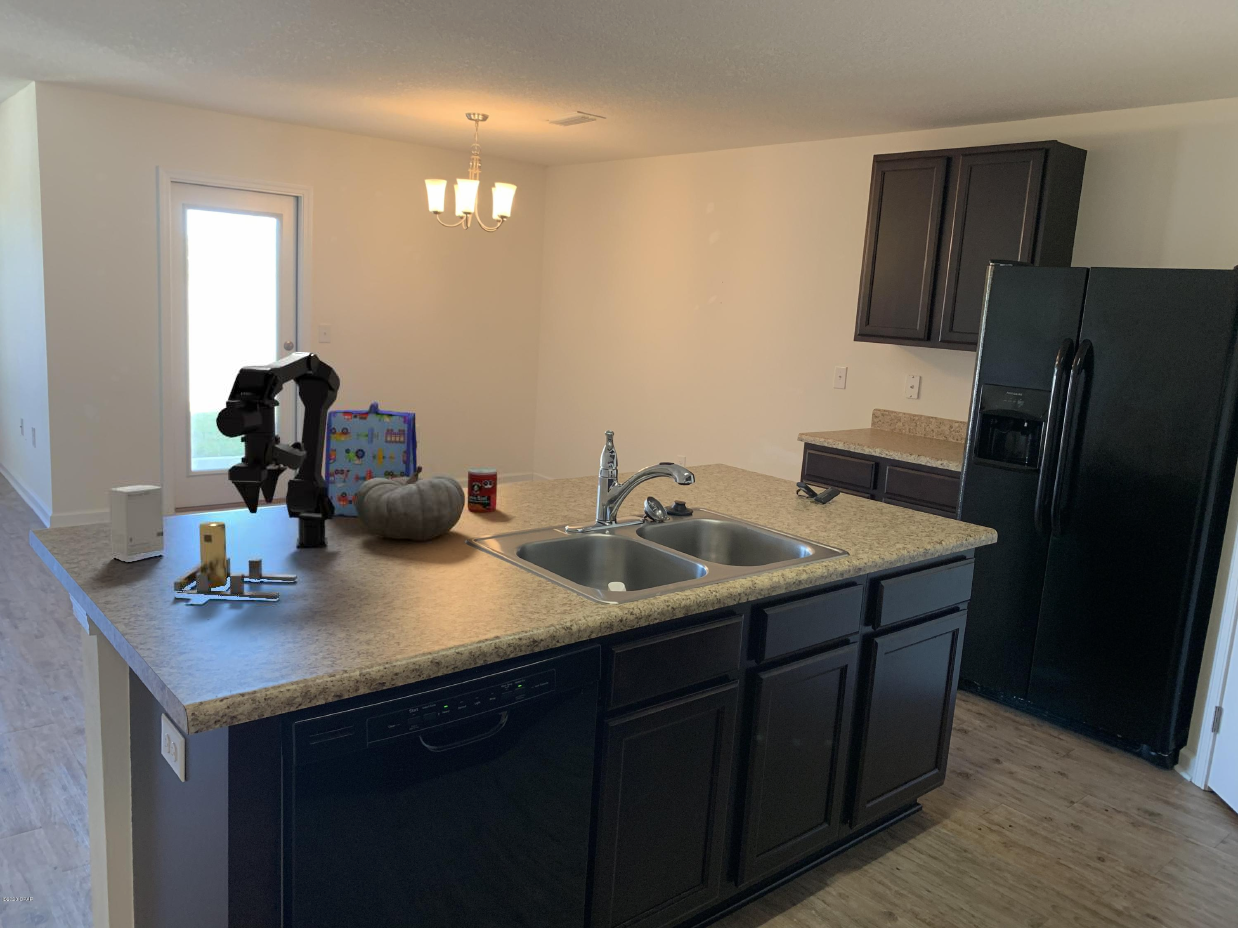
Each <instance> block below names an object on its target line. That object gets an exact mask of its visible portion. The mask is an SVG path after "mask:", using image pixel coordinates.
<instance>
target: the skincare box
mask: <svg viewBox="0 0 1238 928" xmlns="http://www.w3.org/2000/svg"><path fill="white" fill-rule="evenodd" d="M108 495H109V497H108V498H109V514H110V515H109V518H110V519H109V520H110V521H109V522H110V545H111V552H112V551H113V552H116V553H119V554H121V555H124V556H132V555H137V554H141V553H148V552H153V551H161V550H164V549H165V548H164V547H165V546H164V545H165V543H164V540H165V539H164V519H163V518H164V514H163V512H164V510H163V507H164V506H163V488H162V486H157V485H151V484H139V485H129V486H122V487H121V486H120V487H114V488H109V489H108ZM164 551H165V550H164Z"/></svg>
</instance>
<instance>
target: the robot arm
mask: <svg viewBox="0 0 1238 928" xmlns="http://www.w3.org/2000/svg"><path fill="white" fill-rule="evenodd" d="M292 380H293V382H294V383H295V385H296V386H297V387H298V397H299V399H300V401H301V403H302V404H303V407H304V413H303V421H302V422H303V423H302V432H301V433H302V434H301V442H300V441H298V440H297V441H294V442H293V443H291V445H290V444H289V443H287V444H285V443H282V442H281V437H280V436H279V434H276V407H279V406H280V401H278V400H277V399H276V396H277V395H278V394H280V393H281V392H282V391H283V390H284V387H283V386H284V385H285V384H286V383H288V382H290V381H292ZM340 385H341V379H340V377H339V375H338V374H337V373H336V371H335V370H334V368H333V367H332V366H330V365H329V364H327V363H326V362H324V361H323V360H321V359H320V358H319V356H318V355H317V354H315V353H313V352H303V351H294V352H292V353H291V354H290V355H288V356H286V357H282V358H281V359H279V360H276V361H274V362H271V363H268V364H266V365H246V366H242V367H240V369H239V370H238V373H237V374H236V376H235V379H234V382H233V385H232V387H231V390H230V392H229V395H228V398H227V400H226V401H225V407H224V408H222V409H221V410H220V411H219V412H218V414H217V416H216V419H215V422H216V427H217V429H218V431H219V432H220V433H221V434H222V436H224V437H227V438H237V437H240V443H243V444H244V456H242V457H240V460H241V462H238V463H235V464H234V465H232V466H231V467H230V468H229V469H228V470H227V473H228V474H227V477H228V479H227V480H228V481H230V482H231V484H233V485H234V487H235V488H236V490H237V491H238V493H239V495H240V496H241V498H242V500H243V502H244V504H245V506H246V508H247V509H248V511H249V513H250V514H257V512H258V508H259V500H260V492H261V493H262V496H263V498H264V500H265V501H264V502H265V503H267V504H271V503H273V500H274V497H275V492H276V488H277V486H278V481H279V477H280V476H281V475H282V474H283V473H284V472H286V471H287V470H288V469H289V470H292V471H297V470H298V471H297V473H296V475H295V476H294V477H293V478H292V479H291V478H290V479H289V480H288V481H287V491H286V495H285V505H286V509H287V513H288V518H290V519H297V520H298V523H297V525H298V527H297V528H298V538H297V539H296V546H298V547H297V548H318V547H317V546H325V547H328V537H327V536H326V521H327V520H333V518H334V516H335V515H334V513H335V512H334V511H335V507H334V505H333V503H332V502H331V500H330V498H329V497H328V495H327V493H328V487H327V485H326V483H325V478H324V477H323V475H322V470H323V463H324V461H323V460H324V452H325V443H326V431H327V419H328V413H329V409H330V408H331V407H332V406H333V405H334V403H335V402H336V401H337V397H338V393H339V390H340ZM260 490H261V491H260ZM304 546H306V547H304ZM312 546H313V547H312ZM314 546H316V547H314Z"/></svg>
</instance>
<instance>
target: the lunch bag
mask: <svg viewBox="0 0 1238 928" xmlns="http://www.w3.org/2000/svg"><path fill="white" fill-rule="evenodd" d="M416 430H417V428H416V412H408V411H407V412H404V411H403V412H402V411H394V410H384V409H383V410H382V409H380V408H379V403H378V402H377V401H374V402H372V403H371V404H370V405H369V408H368V409H366V410H364V409H363V410H359V409H358V410H356V409H355V410H349V409H345V410H344V409H343V410H328V412H327V422H326V432H325V459H324V460H325V461H324V481H325V483H326V485H327V487H328V493H327V495H328V497H329V498H330V500H331V502H332V503H333V505H334V507H335V511H334V512H335V513H334V516H345V517H359V516H358V514H357V511H356V507H355V500H356V495H357V492H358V489H359V488H360V486H361V485H362V484H363V483H364V482H366V481H368V480H370V479H374V478H386V479H392V478H398V477H410V476H411V475H412V474H414V472H415V471H417V467H418V466H417V464H418V461H417V459H418V458H417V450H418V442H417V431H416Z"/></svg>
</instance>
